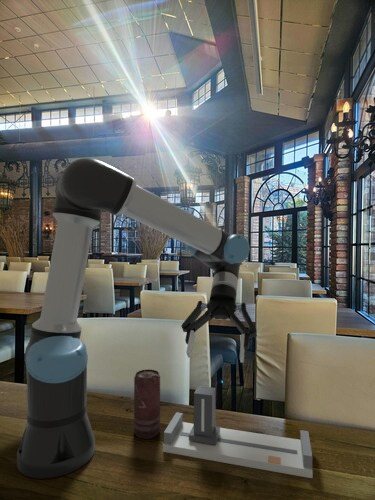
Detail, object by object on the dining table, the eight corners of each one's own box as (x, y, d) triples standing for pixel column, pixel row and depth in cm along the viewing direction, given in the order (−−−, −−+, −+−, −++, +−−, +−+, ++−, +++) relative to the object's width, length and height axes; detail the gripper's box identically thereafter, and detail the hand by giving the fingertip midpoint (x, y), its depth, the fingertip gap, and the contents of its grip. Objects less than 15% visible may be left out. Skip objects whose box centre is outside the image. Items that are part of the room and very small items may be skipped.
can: (156, 441, 74) (157, 379, 74) (130, 437, 75) (130, 376, 75) (164, 427, 80) (164, 369, 80) (139, 424, 81) (139, 367, 81)
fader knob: (188, 440, 71) (189, 393, 71) (194, 428, 76) (194, 384, 76) (216, 445, 70) (216, 397, 70) (220, 432, 75) (220, 387, 75)
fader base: (163, 451, 70) (163, 433, 70) (176, 427, 80) (177, 411, 80) (312, 478, 62) (312, 457, 62) (307, 447, 72) (308, 430, 72)
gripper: (267, 300, 97) (265, 369, 83) (185, 296, 104) (170, 359, 89) (266, 284, 92) (264, 354, 77) (181, 281, 98) (164, 346, 84)
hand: (214, 357), depth 83 cm, fingers open, 13 cm apart
